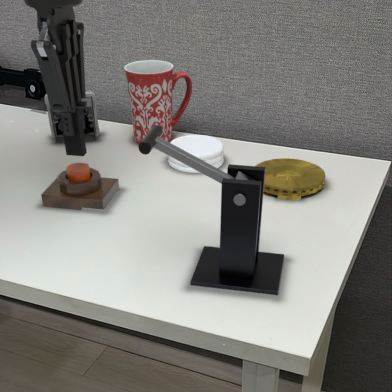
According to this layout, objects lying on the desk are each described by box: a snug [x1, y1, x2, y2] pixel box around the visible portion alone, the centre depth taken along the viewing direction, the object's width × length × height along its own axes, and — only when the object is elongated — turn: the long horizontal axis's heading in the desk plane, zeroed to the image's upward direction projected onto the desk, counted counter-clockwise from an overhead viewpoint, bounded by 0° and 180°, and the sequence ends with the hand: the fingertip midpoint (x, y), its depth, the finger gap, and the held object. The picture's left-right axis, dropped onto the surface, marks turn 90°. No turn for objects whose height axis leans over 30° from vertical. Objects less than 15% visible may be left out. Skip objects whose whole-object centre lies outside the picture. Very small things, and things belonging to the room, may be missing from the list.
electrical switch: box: [44, 90, 100, 143], centre depth 107 cm, size 9×5×9 cm, turn 99°
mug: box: [123, 59, 193, 145], centre depth 106 cm, size 13×9×14 cm
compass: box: [255, 157, 326, 201], centre depth 94 cm, size 12×12×2 cm
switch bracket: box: [189, 164, 285, 296], centre depth 69 cm, size 11×9×14 cm
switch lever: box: [138, 125, 256, 185], centre depth 65 cm, size 14×6×2 cm, turn 78°
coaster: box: [167, 134, 225, 174], centre depth 100 cm, size 10×10×4 cm
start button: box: [65, 162, 91, 182], centre depth 88 cm, size 4×4×2 cm
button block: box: [40, 167, 120, 211], centre depth 89 cm, size 10×8×4 cm
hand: (76, 153), depth 86 cm, fingers closed
